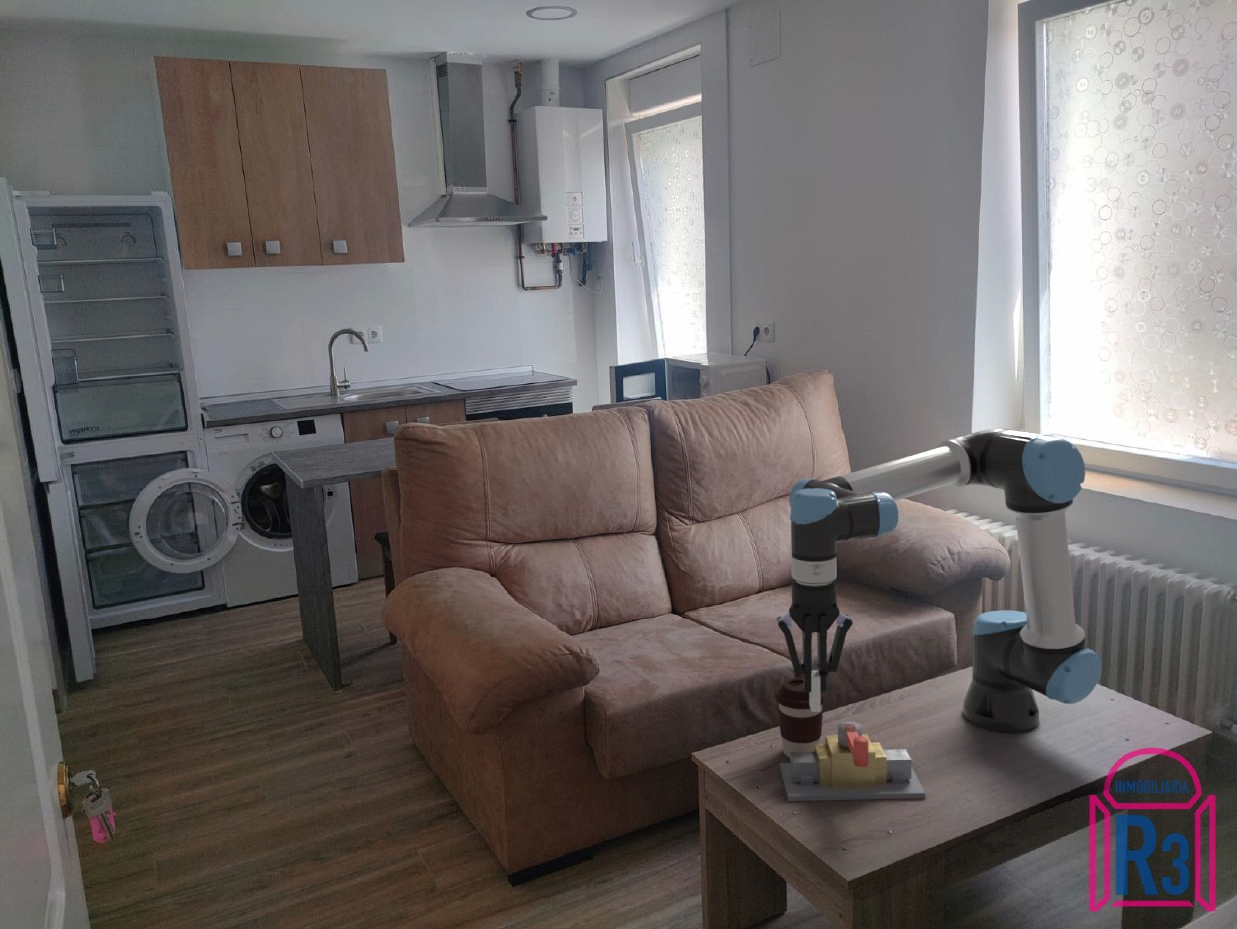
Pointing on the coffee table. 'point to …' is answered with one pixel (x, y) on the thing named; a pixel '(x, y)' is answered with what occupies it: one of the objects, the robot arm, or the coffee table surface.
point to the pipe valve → (849, 766)
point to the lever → (854, 742)
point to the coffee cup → (798, 717)
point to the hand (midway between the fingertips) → (814, 708)
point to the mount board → (850, 789)
